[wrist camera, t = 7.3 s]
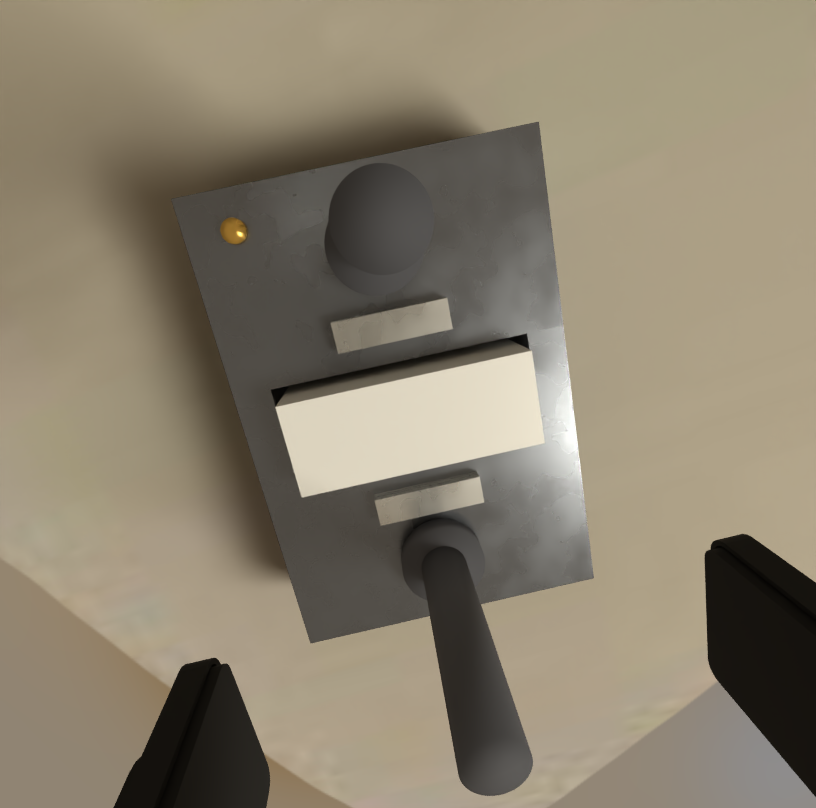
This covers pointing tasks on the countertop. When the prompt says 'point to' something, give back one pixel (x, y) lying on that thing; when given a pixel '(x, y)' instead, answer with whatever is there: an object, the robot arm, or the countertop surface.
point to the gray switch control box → (392, 342)
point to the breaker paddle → (411, 416)
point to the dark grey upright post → (378, 229)
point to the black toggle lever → (467, 657)
